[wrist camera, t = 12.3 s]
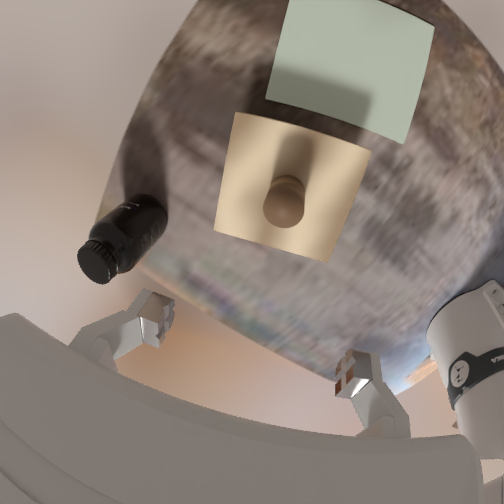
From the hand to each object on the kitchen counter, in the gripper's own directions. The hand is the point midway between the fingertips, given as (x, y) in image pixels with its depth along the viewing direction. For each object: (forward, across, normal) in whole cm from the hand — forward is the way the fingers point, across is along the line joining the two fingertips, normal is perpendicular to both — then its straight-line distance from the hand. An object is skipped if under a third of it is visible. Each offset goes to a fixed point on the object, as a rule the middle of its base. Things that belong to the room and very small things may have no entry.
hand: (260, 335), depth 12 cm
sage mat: (+21, +2, +16) cm, 26 cm away
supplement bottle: (+21, -17, -9) cm, 29 cm away
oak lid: (+16, 0, +1) cm, 16 cm away
